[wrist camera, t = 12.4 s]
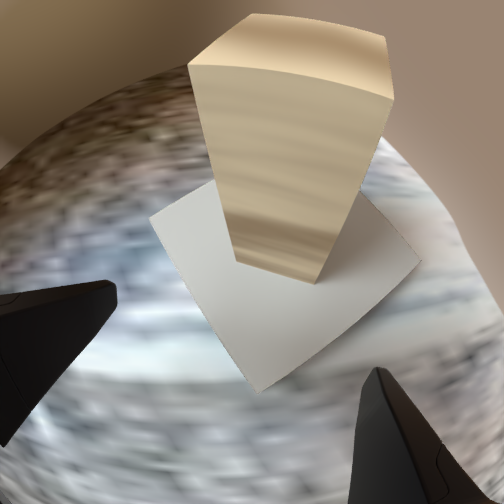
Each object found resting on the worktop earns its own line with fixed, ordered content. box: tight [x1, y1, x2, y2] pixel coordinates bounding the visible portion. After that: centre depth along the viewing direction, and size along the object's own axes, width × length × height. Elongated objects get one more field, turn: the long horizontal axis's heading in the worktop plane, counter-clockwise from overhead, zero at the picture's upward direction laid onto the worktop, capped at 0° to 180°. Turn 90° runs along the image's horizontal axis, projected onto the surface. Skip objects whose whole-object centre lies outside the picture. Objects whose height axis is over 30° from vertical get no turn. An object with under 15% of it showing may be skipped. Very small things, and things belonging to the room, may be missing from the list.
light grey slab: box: [149, 179, 422, 394], centre depth 19 cm, size 14×14×3 cm
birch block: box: [188, 14, 394, 285], centre depth 12 cm, size 5×5×13 cm
